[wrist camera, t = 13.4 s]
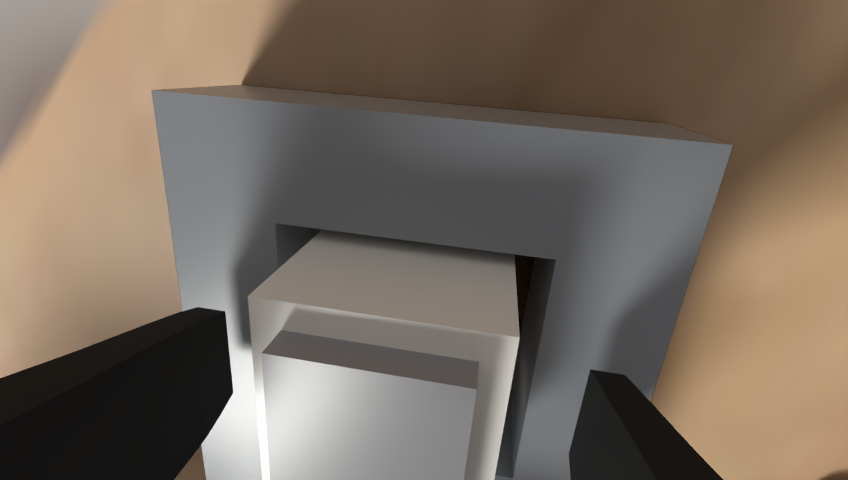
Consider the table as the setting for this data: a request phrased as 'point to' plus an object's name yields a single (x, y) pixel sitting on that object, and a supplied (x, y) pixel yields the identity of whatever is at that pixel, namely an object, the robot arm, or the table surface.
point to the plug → (383, 360)
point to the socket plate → (444, 230)
